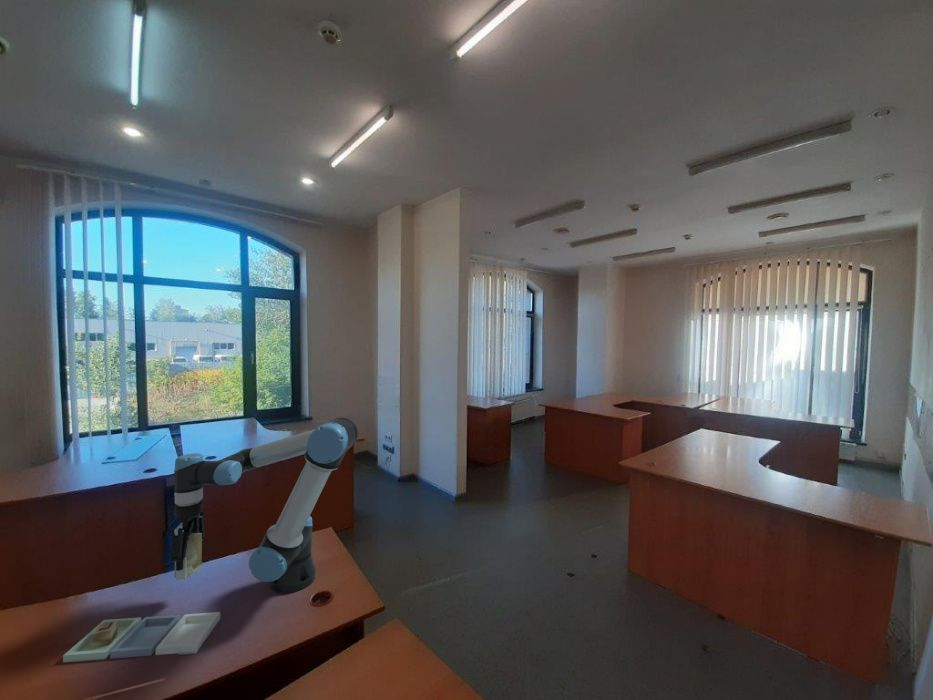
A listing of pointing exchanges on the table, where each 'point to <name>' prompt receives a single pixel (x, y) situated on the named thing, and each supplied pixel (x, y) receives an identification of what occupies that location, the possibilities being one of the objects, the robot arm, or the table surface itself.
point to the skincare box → (193, 554)
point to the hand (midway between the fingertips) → (188, 571)
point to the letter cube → (104, 634)
